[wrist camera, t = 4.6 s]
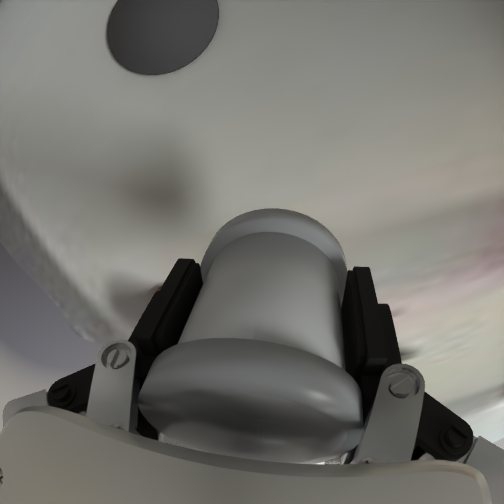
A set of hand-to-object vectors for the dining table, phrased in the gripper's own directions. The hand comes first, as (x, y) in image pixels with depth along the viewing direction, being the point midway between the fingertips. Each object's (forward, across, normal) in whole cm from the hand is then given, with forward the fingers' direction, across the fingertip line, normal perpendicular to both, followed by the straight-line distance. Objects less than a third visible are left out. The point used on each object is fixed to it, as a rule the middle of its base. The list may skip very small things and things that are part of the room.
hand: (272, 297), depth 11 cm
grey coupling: (+2, 0, 0) cm, 2 cm away
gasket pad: (+9, +7, -12) cm, 17 cm away
